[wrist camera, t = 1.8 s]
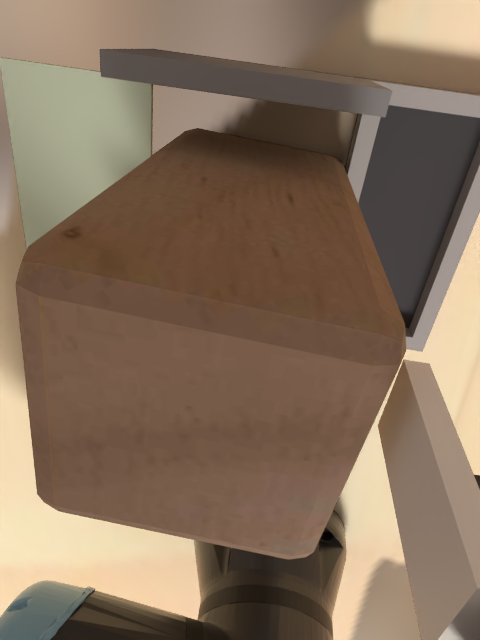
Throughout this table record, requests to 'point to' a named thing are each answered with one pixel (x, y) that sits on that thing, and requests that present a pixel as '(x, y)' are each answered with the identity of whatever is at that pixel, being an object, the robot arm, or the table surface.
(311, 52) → the table surface
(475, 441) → the table surface
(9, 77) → the pad
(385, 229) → the pit trap
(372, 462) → the table surface
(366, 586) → the table surface
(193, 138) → the wooden block
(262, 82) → the channel
